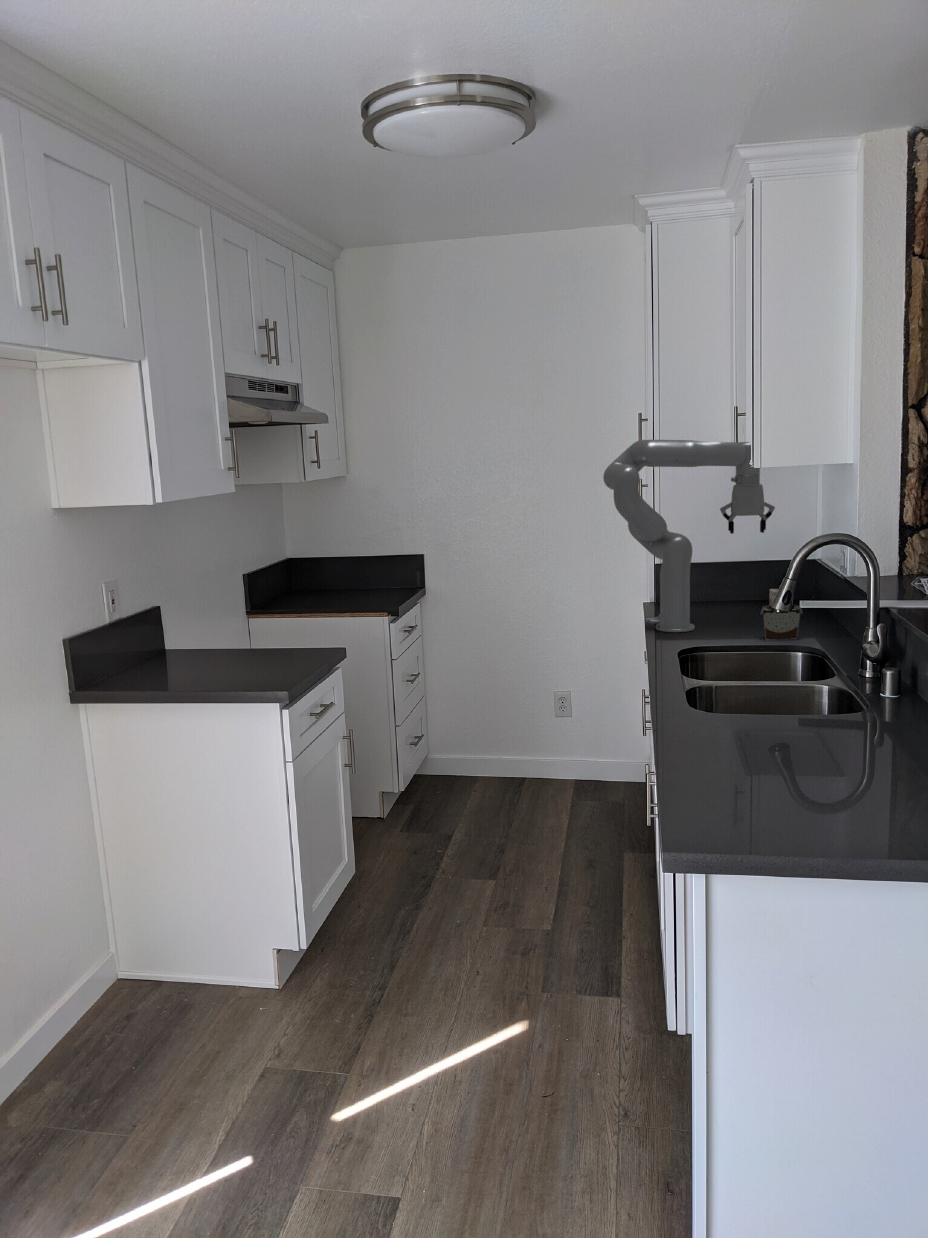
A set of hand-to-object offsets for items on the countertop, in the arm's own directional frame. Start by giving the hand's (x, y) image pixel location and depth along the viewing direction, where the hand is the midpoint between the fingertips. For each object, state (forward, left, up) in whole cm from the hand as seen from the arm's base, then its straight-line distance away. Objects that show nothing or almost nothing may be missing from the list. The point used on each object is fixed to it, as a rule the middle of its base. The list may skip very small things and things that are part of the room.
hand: (746, 532), depth 307 cm
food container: (+6, -24, -31) cm, 39 cm away
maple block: (+6, -24, -20) cm, 32 cm away
